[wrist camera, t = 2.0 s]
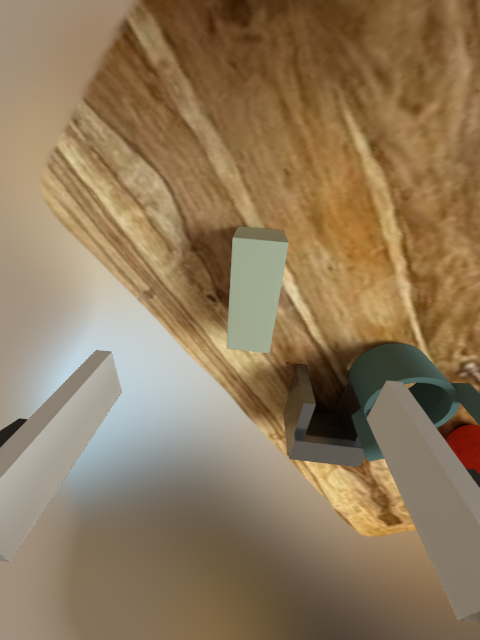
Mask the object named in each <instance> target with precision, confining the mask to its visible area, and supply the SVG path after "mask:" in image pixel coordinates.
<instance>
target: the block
mask: <svg viewBox="0 0 480 640" xmlns="http://www.w3.org/2000/svg"><path fill="white" fill-rule="evenodd" d="M288 244H289V242H288V240H287V238H286V235H285V233H284V231H283V230H274V229H263V228H252V227H241V226H238V228H237V230H236V232H235V234H234V236H233V242H232V260H231V278H230V296H229V314H228V332H227V349H235V350H244V351H254V352H263V353H270V347H271V341H272V336H273V330H274V324H275V318H276V313H277V307H278V301H279V296H280V290H281V284H282V278H283V273H284V267H285V261H286V256H287V250H288Z"/></svg>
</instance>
